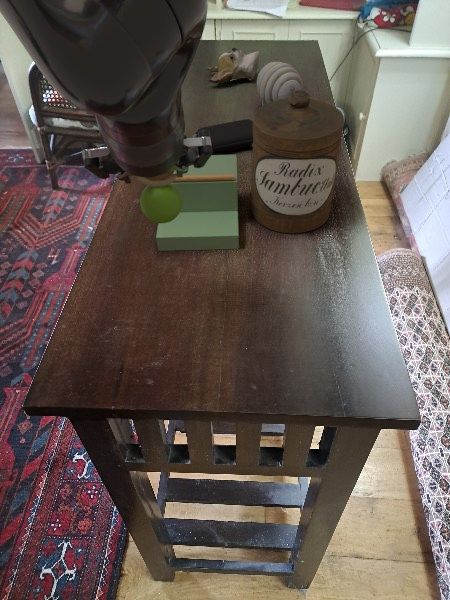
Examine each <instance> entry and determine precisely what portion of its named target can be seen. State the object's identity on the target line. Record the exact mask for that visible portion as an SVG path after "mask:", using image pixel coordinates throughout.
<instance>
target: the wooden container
mask: <svg viewBox="0 0 450 600" xmlns="http://www.w3.org/2000/svg"><path fill="white" fill-rule="evenodd" d="M252 117H253V118H252V121H253V147H252V162H251V163H252V164H251V190H250V191H251V192H250V193H251V195H250V196H251V197H250V202H251V203H250V205H251V207H250V209H251V214H252V216H253V218H254V219H255V220H256V222H257V223H258V224H260V225H261V226H262V227H264V228H266V229H268V230H271V231H274V232H278V233H283V234H303V233H308V232H311V231H313V230H314V231H315V230H316V229H318V228H320V227H321V226H323V225H324V224H325V223H326V222H327V221H328V219H329V218H330V214H331V209H332V202H333V198H334V193H335V186H336V181H337V173H338V165H339V158H340V152H341V145H342V143H341V142H342V137H343V130H344V123H345V118H344V115H343V112H341V110H339V109H338V108H337V107H336V106H334V105H332V104H330V103H328V102H325V101H323V100H319V99H313V98H311V94H309V92H307V91H304V90H302V91H301V90H297V91H295V92H294V93H292V94H291V95H290V96H289V98H286V99H280V100H276V101H272V102H269V103H267V104H265V105H263V106H262V105H261V106H260V107H259V108H257V109H256V111H255V112H254V114H253V116H252Z"/></svg>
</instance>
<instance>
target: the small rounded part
mask: <svg viewBox="0 0 450 600" xmlns="http://www.w3.org/2000/svg"><path fill="white" fill-rule="evenodd" d="M173 172H174V171H167V172H166V173H164V174H162V175H159V176H156V177H149V178H144V177H138V176H135V175H133V176H132V177H134V179H135V180H136V181H137V182H138V183H140V184H142V185H146V186H145V187H144V189H143V190H142V192H141V193H140V197H139V200H140V201H139V204H140V206H139V207H140V209H141V211H142V213H143V215H144V216H145V217H146V218H147V219H148V220H149V221H151V222H153V223H156V224H158V223H168V222H170V221H172V220H174V219H175V218H176V217H177V216H178V215H179V213H180V211H181V208H182V197H181V194H180V192H179V190H178V189H177V188H176V187H175V186H174V185H173V184H171V183H172V182H173V181H174V180H175V179H176V178H177V174H173Z"/></svg>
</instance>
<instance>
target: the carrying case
mask: <svg viewBox="0 0 450 600" xmlns="http://www.w3.org/2000/svg"><path fill="white" fill-rule="evenodd" d="M203 129H208V130H210V137H211V144H212V151H213V154H212V155H218V154H223V153H226V152H227V153H228V152H232V151H237V150H243V149H246V148H253V119H250V118H244V119H237V120H234V121H229V122H224V123H217V124H213V125H208V126H203V127H200V128H199V129H197V131H196V132H195V134H196V135H197V134H198V132H199V131H200V130H203Z"/></svg>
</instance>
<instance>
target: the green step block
mask: <svg viewBox="0 0 450 600" xmlns="http://www.w3.org/2000/svg"><path fill="white" fill-rule="evenodd" d="M237 159H238V158H237V154H212V155H211V157H210V158H209V159H208V161H207V162H206V164H205V165H204V167H201V168H194V165H191V166H189V170H188V172H187V173H185V174H183V177H181V178H176V179H175V180H174V181H173V182H172V183H171V184H173V185H174V186H175V187H176V188H177V189H178V190H179V192H180V194H181V197H182V208H181V211H180V213H179V215H178V216H177V217H176V218H175V219H174V220H172V221H170V222H168V223H157V229H156V236H155V240H156V245H157V246H156V247H157V250H158V251H159V252H160V251H161V252H165V251H166V252H167V251H168V252H169V251H207V250H208V251H210V250H239V249H240V243H239V242H240V239H239V238H240V237H239V236H240V235H239V234H240V233H239V232H240V231H239V211H238V210H239V202H238V201H239V200H238V199H239V197H238V191H239V190H238V189H239V188H238V160H237ZM173 174H177V173H176V171H174V172H173Z"/></svg>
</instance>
